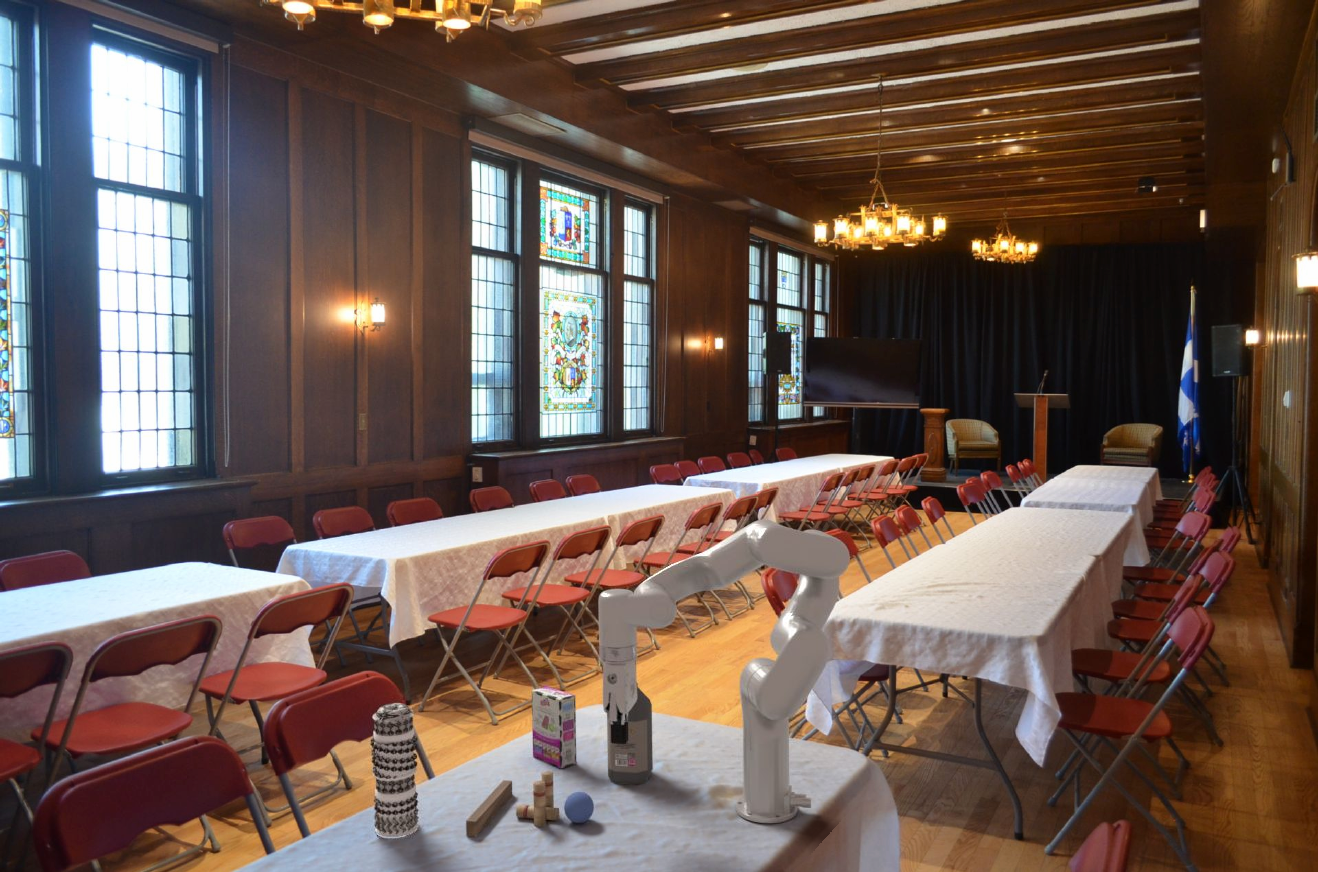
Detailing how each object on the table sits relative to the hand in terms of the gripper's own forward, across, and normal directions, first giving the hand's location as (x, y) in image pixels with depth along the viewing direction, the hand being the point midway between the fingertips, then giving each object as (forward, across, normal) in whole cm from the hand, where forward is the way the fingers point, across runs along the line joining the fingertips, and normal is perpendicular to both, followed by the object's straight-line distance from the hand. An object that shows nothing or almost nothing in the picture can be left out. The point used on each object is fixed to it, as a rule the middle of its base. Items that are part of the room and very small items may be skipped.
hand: (619, 741), depth 196 cm
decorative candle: (+17, -10, +44) cm, 48 cm away
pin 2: (+17, +2, +16) cm, 24 cm away
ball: (+14, 0, +9) cm, 17 cm away
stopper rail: (+17, 0, +28) cm, 33 cm away
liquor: (+17, +24, +4) cm, 30 cm away
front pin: (+16, 0, +13) cm, 21 cm away
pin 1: (+17, -2, +16) cm, 24 cm away
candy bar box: (+17, +30, +24) cm, 42 cm away
